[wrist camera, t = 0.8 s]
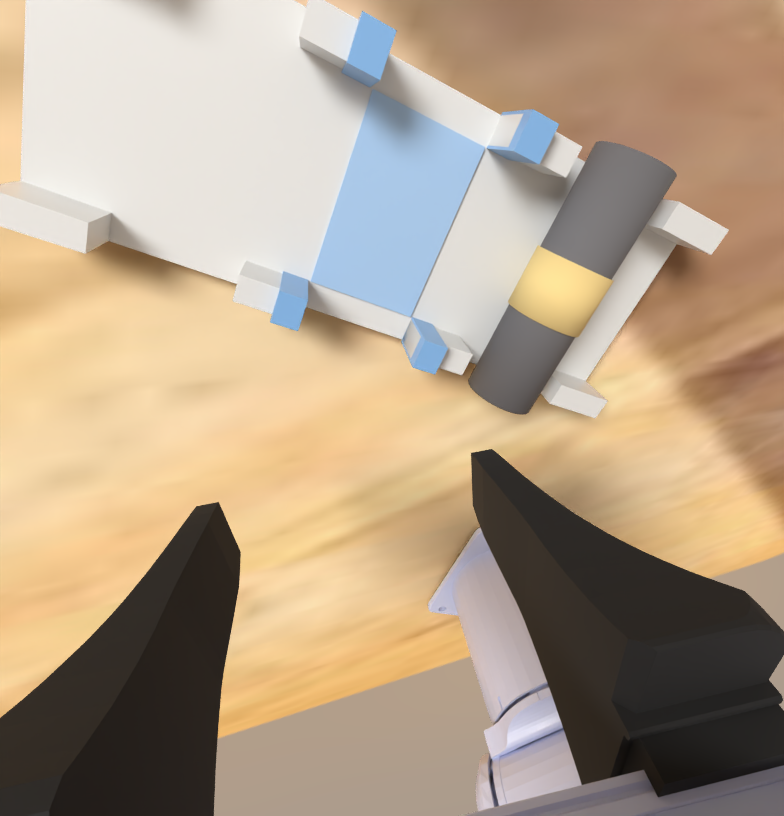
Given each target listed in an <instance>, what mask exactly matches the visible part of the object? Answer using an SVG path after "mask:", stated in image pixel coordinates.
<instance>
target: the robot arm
mask: <svg viewBox="0 0 784 816" xmlns="http://www.w3.org/2000/svg"><path fill="white" fill-rule="evenodd" d="M471 462H472V493H473V507H474V510H475V513H476V516H477V519H478V522H479V524H480V528H478V529H477V530H476V531H475V532H474V534H473V535H472V537H471V538H470V540H469V541H468V543H467V544H466V546H465V548H464V549H463V551H462V552H461V554H460V555H459V557H458V558H457V560H456V561H455V563H454V564H453V566H452V567H451V569H450V570H449V572H448V574H447V575H446V577H445V578H444V580H443V581H442V583H441V584H440V586H439V587H438V589H437V590H436V592H435V593H434V595H433V596H432V598H431V600H430V601H429V603H428V608H429V611H431V612H435V613H443V614H451V615H458V616H459V619H460V623H461V626H462V629H463V632H464V636H465V639H466V642H467V645H468V648H469V652H470V655H471V658H472V661H473V665H474V668H475V671H476V674H477V677H478V681H479V684H480V687H481V690H482V694H483V697H484V700H485V703H486V707H487V710H488V713H489V716H490V720H491V723H492V726H491V727H490V728H488V729H486V730H484V735H485V739H486V742H487V745H488V749H489V752H490V753H487V754H485V755H483V756H482V757H481V759H480V761H479V767H478V774H477V779H476V799H477V807H478V811H477V812H473V813H468V814H465V815H461V816H784V711H783V709H782V708H781V707H780V706H779V704H780V703H781V702H782V701H783V699H782V696H781V694H780V693H779V692H778V690H777V689H776V688H775V687H774V686H773V684H772V683H771V682H770V681H769V678H770V676H771V675H772V673H773V672H774V670H775V668H776V667H777V665H778V664H779V662H780V660H781V659H782V657H783V655H784V631H783V630H782V629H781V628H780V627H779V626H778V625H777V624H776V622H775V621H774V620H773V619H772V618H771V617H770V616H769V615H768V614H767V613H766V612H765V610H764V609H763V608H761V606H760V605H759V604H758V603H757V602H755V601H754V600H753V599H752V598H751V597H750V596H749V595H748V594H747V593H746V592H745V591H743V590H740V589H737V588H734V587H732V586H729V585H726V584H723V583H720V582H717V581H715V580H712V579H709V578H706V577H703V576H700V575H697V574H695V573H692V572H690V571H687V570H685V569H682V568H680V567H678V566H675V565H673V564H670V563H668V562H665V561H663V560H661V559H659V558H656V557H654V556H652V555H650V554H647V553H645V552H643V551H641V550H639V549H637V548H635V547H633V546H631V545H629V544H627V543H625V542H623V541H621V540H619V539H617V538H615V537H613V536H612V535H610V534H608V533H606V532H604V531H603V530H601V529H599V528H597V527H596V526H594V525H592V524H591V523H589V522H587V521H585V520H584V519H582V518H581V517H579V516H578V515H576V514H574V513H573V512H571V511H570V510H569V509H567V508H566V507H564V506H563V505H561V504H560V503H558V502H557V501H556V500H554V499H553V498H552V497H550V496H549V495H548V494H546V493H545V492H544V491H542V490H541V489H540V488H538V487H537V486H536V485H535V484H533V483H532V482H531V481H529V480H528V479H527V478H526V477H524V476H523V475H522V474H521V473H520V472H518V471H517V470H516V469H515V468H514V467H513V466H511V465H510V464H509V463H508V462H507V461H506V460H504V459H503V458H502V457H501V456H500V455H499V454H497V453H496V452H495V451H494V450H492V449H490V450H485V451H480V452H474V453H471ZM240 553H241V552H240V550H239V547H238V545H237V543H236V541H235V538H234V536H233V534H232V532H231V529H230V527H229V525H228V522H227V520H226V518H225V516H224V513H223V511H222V509H221V507H220V504H219V502H217V503H212V504H207V505H201V506H196V508H195V509H194V510H193V512H192V513H191V514H190V516H189V517H188V518H187V520H186V521H185V522H184V524H183V525H182V526H181V528H180V529H179V531H178V532H177V533H176V535H175V536H174V537H173V539H172V540H171V542H170V543H169V544H168V546H167V547H166V548H165V550H164V551H163V552H162V554H161V555H160V556H159V558H158V559H157V560H156V562H155V563H154V564H153V565H152V567H151V568H150V569H149V571H148V572H147V573H146V574H145V576H144V577H143V578H142V579H141V580H140V582H139V583H138V584H137V585H136V587H135V588H134V589H133V590H132V591H131V593H130V594H129V595H128V596H127V597H126V599H125V600H124V601H123V602H122V603H121V605H120V606H119V607H118V608H117V609H116V610H115V611H114V612H113V614H112V615H111V616H110V617H109V618H108V619H107V620H106V621H105V622H104V623H103V624H102V625H101V626H100V627H99V628H98V629H97V631H96V632H95V633H94V634H93V635H92V636H91V637H90V638H89V639H88V640H87V641H86V642H85V643H84V644H83V645H82V646H81V647H80V648H79V649H78V650H77V651H75V652H74V653H73V654H72V655H71V656H70V657H69V658H68V659H67V660H66V661H65V662H64V663H63V664H62V665H61V666H60V667H58V668H57V669H56V670H55V671H54V672H53V673H52V674H51V675H50V676H49V677H48V678H47V679H46V680H45V681H43V682H42V683H41V684H40V685H39V686H38V687H37V688H35V689H34V690H33V691H32V692H31V693H30V694H28V695H27V696H26V697H25V698H24V699H23V700H22V701H20V702H19V703H18V704H17V705H15V706H14V707H13V708H12V709H11V710H9V711H8V712H7V713H6V714H5V715H3V716H2V717H1V718H0V816H214V792H215V768H216V752H217V737H218V722H219V710H220V698H221V687H222V679H223V672H224V666H225V660H226V655H227V650H228V644H229V639H230V633H231V628H232V623H233V617H234V612H235V606H236V601H237V595H238V589H239V576H240Z"/></svg>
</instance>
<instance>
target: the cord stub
mask: <svg viewBox="0 0 784 816" xmlns="http://www.w3.org/2000/svg"><path fill="white" fill-rule="evenodd" d="M676 176H677V175H676V173H675V171H674V170H673V169H671V168H670V167H669V166H667V165H666V164H664V163H663V162H661V161H659V160H657V159H655V158H653V157H651V156H649V155H647V154H645V153H642V152H640V151H638V150H635V149H632V148H629V147H626V146H623V145H620V144H616V143H612V142H606V141H599V142H596V143H595V145H594V147H593V149H592V151H591V153H590V154H589V156H588V158H587V160H586V162H585V164H584V166H583V167H582V169H581V171H580V173H579V175H578V177H577V179H576V180H575V182H574V184H573V186H572V188H571V190H570V192H569V194H568V195H567V197H566V199H565V201H564V203H563V205H562V207H561V208H560V210H559V212H558V214H557V216H556V218H555V220H554V221H553V223H552V225H551V227H550V229H549V231H548V233H547V234H546V236H545V238H544V240H543V242H542V244H541V246H539V245H538V246H537V248H536V250H535V251H534V253H533V255H532V257H531V259H530V261H529V263H528V265H527V266H526V268H525V270H524V272H523V274H522V276H521V278H520V280H519V281H518V283H517V285H516V287H515V289H514V291H513V293H512V295H511V296H510V298H509V300H508V303H509V305H508V307H507V309H506V311H505V313H504V315H503V316H502V318H501V320H500V322H499V324H498V326H497V328H496V329H495V331H494V333H493V335H492V337H491V339H490V341H489V343H488V344H487V346H486V348H485V350H484V352H483V354H482V356H481V357H480V359H479V361H478V363H477V365H476V367H475V369H474V370H473V372H472V374H471V376H470V378H469V380H468V383H469V385H470V387H471V388H472V389H473V390H474V391H475V392H476V393H477V394H478V395H479V396H481V397H482V398H483V399H485V400H486V401H488V402H489V403H491V404H493V405H495V406H497V407H499V408H501V409H503V410H506V411H508V412H511V413H515V414H527V413H528V412H529V411H530V409H531V408H532V406H533V404H534V403H535V401H536V400H537V398H538V396H539V395H540V393H541V392H542V390H543V388H544V387H545V385H546V384H547V382H548V380H549V379H550V377H551V376H552V374H553V372H554V371H555V369H556V368H557V366H558V364H559V363H560V361H561V360H562V358H563V356H564V355H565V353H566V352H567V350H568V348H569V347H570V345H571V344H572V342H573V341H574V339H575V337H579V336H580V334H581V333H582V331H583V329H584V328H585V326H586V325H587V323H588V321H589V320H590V318H591V317H592V315H593V314H594V312H595V310H596V309H597V307H598V306H599V304H600V302H601V301H602V299H603V298H604V296H605V295H606V293H607V291H608V290H609V288H610V287H611V285H612V283H613V282H614V281H613V280H612V278H613V277H614V275H615V274H616V272H617V270H618V269H619V267H620V266H621V264H622V262H623V261H624V259H625V258H626V256H627V254H628V253H629V251H630V250H631V248H632V246H633V245H634V243H635V242H636V240H637V238H638V237H639V235H640V234H641V232H642V230H643V229H644V227H645V226H646V224H647V222H648V221H649V219H650V218H651V216H652V214H653V213H654V211H655V210H656V208H657V207H658V205H659V203H660V202H661V200H662V199H663V197H664V195H665V194H666V192H667V191H668V189H669V187H670V186H671V184H672V183H673V181H674V179H675V178H676Z"/></svg>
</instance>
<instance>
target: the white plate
mask: <svg viewBox="0 0 784 816" xmlns="http://www.w3.org/2000/svg"><path fill="white" fill-rule="evenodd" d="M395 34H396V30H395V29H393V28H391V27H389V26H388V25H386V24H384V23H382V22H381V21H379V20H377V19H376V18H374V17H372V16H370V15H369V14H367V13H365V12H363V11H362V13H361V15H360V17H359V19H356V18H354V17H353V16H351V15H349V14H347V13H346V12H344V11H342V10H340V9H339V8H337V7H335V6H333V5H332V4H330V3H328V2H326V1H325V0H308V2H307V6H306V7H305V6H303V5H301V4H300V3H298V2H296V1H294V0H26V13H25V47H24V81H23V116H22V150H21V181H15V182H9V183H4V184H0V226H1V227H4V228H7V229H10V230H13V231H17V232H20V233H23V234H26V235H29V236H32V237H35V238H38V239H41V240H44V241H48V242H51V243H54V244H57V245H60V246H63V247H66V248H69V249H72V250H75V251H78V252H82V253H85V254H86V253H88V252H89V251H91V250H93V249H95V248H97V247H99V246H100V245H102V244H104V243H106V242H108V241H110V242H113V243H116V244H119V245H122V246H125V247H128V248H131V249H134V250H137V251H140V252H143V253H146V254H149V255H152V256H155V257H158V258H161V259H164V260H167V261H170V262H173V263H176V264H179V265H182V266H185V267H188V268H191V269H194V270H197V271H199V272H202V273H205V274H208V275H211V276H214V277H217V278H220V279H223V280H226V281H229V282H232V283H235V284H237V286H236V290H235V294H234V298H233V302H236V303H240V304H243V305H246V306H249V307H252V308H255V309H258V310H261V311H264V312H267V313H271V314H272V316H271V321H270V322H271V323H274V324H277V325H280V326H283V327H286V328H290V329H293V330H296V331H298V329H299V326H300V323H301V320H302V317H303V314H304V311H305V308H306V307H307V308H310V309H313V310H316V311H319V312H322V313H325V314H328V315H331V316H334V317H336V318H339V319H342V320H345V321H348V322H351V323H354V324H357V325H360V326H363V327H366V328H369V329H372V330H375V331H378V332H381V333H384V334H387V335H390V336H393V337H396V338H399V339H402V341H401V342H402V344H403V347H404V349H405V351H406V354H407V356H408V358H409V360H410V363H411V365H412V367H413V368H416V369H419V370H422V371H426V372H429V373H432V374H436V372H437V370H438V368H441V369H444V370H447V371H450V372H453V373H456V374H460V375H463V373H464V371H465V369H466V367H467V365H468V363H469V362H471V363H474V364H476V365H477V363H478V361H479V359H480V357H481V356H482V354H483V352H484V350H485V348H486V346H487V344H488V343H489V341H490V339H491V337H492V335H493V333H494V331H495V329H496V328H497V326H498V324H499V322H500V320H501V318H502V316H503V315H504V313H505V311H506V309H507V307H508V305H509V303H508V300H509V298H510V296H511V295H512V293H513V291H514V289H515V287H516V285H517V283H518V281H519V280H520V278H521V276H522V274H523V272H524V270H525V268H526V266H527V265H528V263H529V261H530V259H531V257H532V255H533V253H534V251H535V250H536V248H537V246H538V245H539V246H541V244H542V242H543V240H544V238H545V236H546V234H547V233H548V231H549V229H550V227H551V225H552V223H553V221H554V220H555V218H556V216H557V214H558V212H559V210H560V208H561V207H562V205H563V203H564V201H565V199H566V197H567V195H568V194H569V192H570V190H571V188H572V186H573V184H574V182H575V180H576V179H577V177H578V175H579V173H580V171H581V169H582V167H583V166H584V164H585V162H584V161H582V160H581V159H579V158H577V156H578V154H579V152H580V150H581V148H582V146H580V145H578V144H576V143H575V142H573V141H571V140H569V139H568V138H566V137H564V136H562V135H561V134H559V133H557V132H556V130H557V128H558V126H559V124H558V123H556V122H554V121H553V120H551V119H549V118H547V117H546V116H544V115H542V114H540V113H539V112H537V111H535V110H533V109H532V110H521V111H511V112H502V115H500V114H498V113H496V112H494V111H492V110H491V109H489V108H487V107H485V106H483V105H482V104H480V103H478V102H476V101H474V100H473V99H471V98H469V97H467V96H465V95H464V94H462V93H460V92H458V91H456V90H455V89H453V88H451V87H449V86H447V85H446V84H444V83H442V82H440V81H438V80H437V79H435V78H433V77H431V76H429V75H428V74H426V73H424V72H422V71H420V70H419V69H417V68H415V67H413V66H411V65H410V64H408V63H406V62H404V61H402V60H401V59H399V58H397V57H395V56H393V55H392V54H390V53H389V52H390V49H391V46H392V43H393V40H394V37H395ZM728 231H729V230H728V229H726V228H724V227H723V226H721V225H719V224H717V223H716V222H714V221H712V220H710V219H709V218H707V217H705V216H703V215H702V214H700V213H698V212H696V211H694V210H693V209H691V208H689V207H687V206H686V205H684V204H682V203H680V202H677V201H672V200H666V199H662V200H661V202H660V203H659V205H658V207H657V208H656V210H655V211H654V213H653V214H652V216H651V218H650V219H649V221H648V222H647V224H646V226H645V227H644V229H643V230H642V232H641V234H640V235H639V237H638V238H637V240H636V242H635V243H634V245H633V246H632V248H631V250H630V251H629V253H628V254H627V256H626V258H625V259H624V261H623V262H622V264H621V266H620V267H619V269H618V270H617V272H616V274H615V275H614V277H613V278H612V280H613V281H614V282H613V283H612V285H611V287H610V288H609V290H608V291H607V293H606V295H605V296H604V298H603V299H602V301H601V302H600V304H599V306H598V307H597V309H596V310H595V312H594V314H593V315H592V317H591V318H590V320H589V321H588V323H587V325H586V326H585V328H584V329H583V331H582V333H581V334H580V336H579V337H575V339H574V341H573V342H572V344H571V345H570V347H569V348H568V350H567V352H566V353H565V355H564V356H563V358H562V360H561V361H560V363H559V364H558V366H557V368H556V369H555V371H554V372H553V374H552V376H551V377H550V379H549V380H548V382H547V384H546V385H545V387H544V388H543V390H542V392H541V394H542V395H543V397H544V398H545V399H546V400H547V401H548V402H549V403H550V404H552V405H556V406H559V407H562V408H565V409H568V410H571V411H574V412H577V413H580V414H583V415H587V416H590V417H593V418H596V417H597V415H598V414H599V413H600V411H601V410H602V408H603V407H604V406H605V404H606V403H607V400H606V399H605V398H604V397H603V396H602V395H601V394H600V393H599V392H597V391H596V390H595V389H594V388H593V387H592V386H591V385H590V384H589V383H587V382H586V379H587V378H588V376H589V375H590V373H591V372H592V370H593V369H594V367H595V366H596V364H597V363H598V361H599V360H600V358H601V357H602V355H603V354H604V352H605V351H606V349H607V348H608V346H609V345H610V343H611V342H612V340H613V339H614V337H615V336H616V334H617V333H618V332H619V330H620V329H621V327H622V326H623V324H624V323H625V321H626V320H627V318H628V317H629V315H630V314H631V312H632V311H633V309H634V308H635V306H636V305H637V303H638V302H639V300H640V299H641V297H642V296H643V294H644V293H645V291H646V290H647V288H648V287H649V285H650V284H651V282H652V281H653V279H654V278H655V276H656V275H657V273H658V272H659V270H660V269H661V267H662V266H663V264H664V263H665V261H666V260H667V258H668V257H669V255H670V254H671V252H672V251H673V249H674V248H675V246H676V245H681V246H684V247H687V248H690V249H694V250H697V251H700V252H703V253H707V254H710V255H712V253H713V252H714V250H715V249H716V248H717V246H718V245H719V243H720V242H721V240H722V239H723V238H724V236H725V235H726V233H727V232H728Z"/></svg>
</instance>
